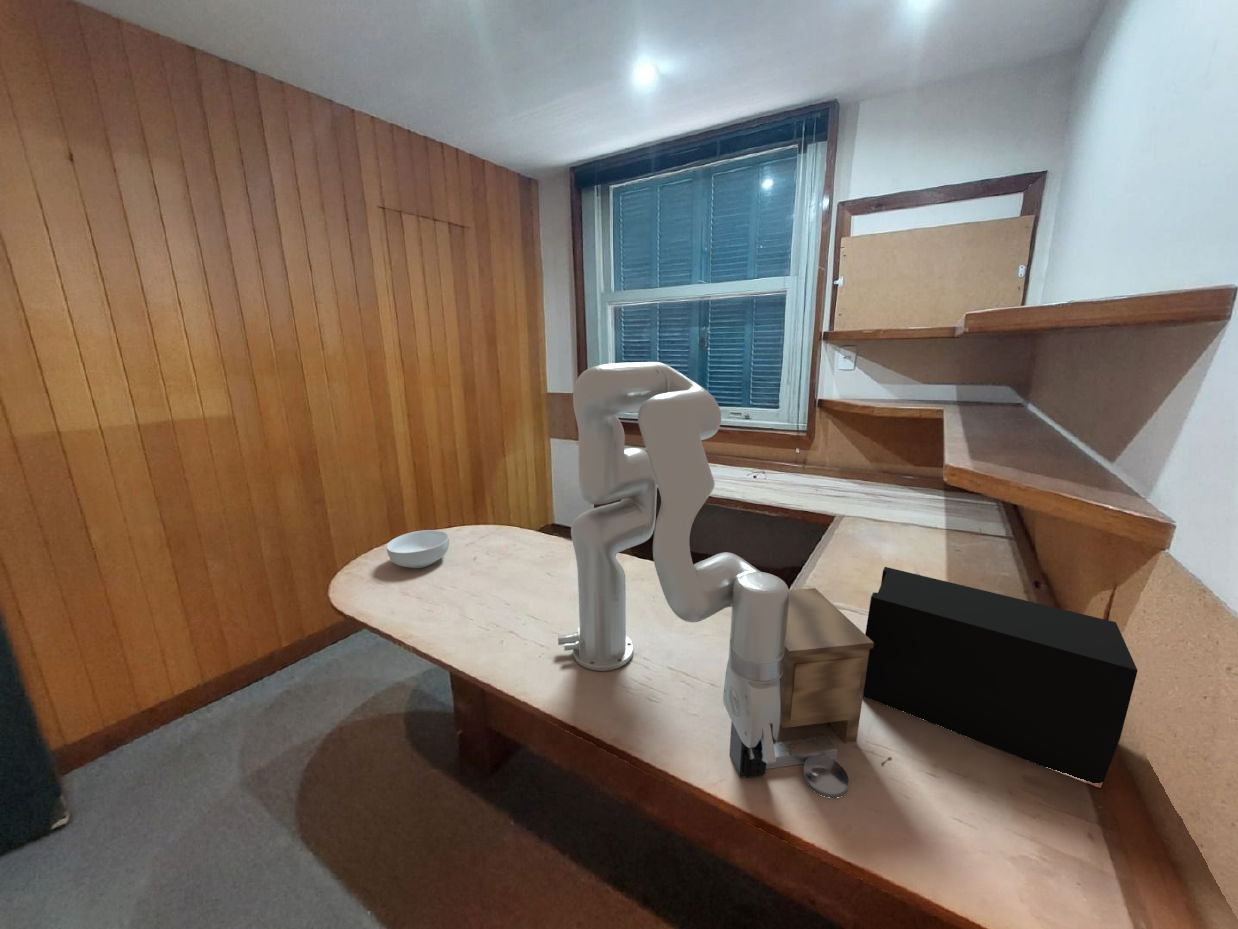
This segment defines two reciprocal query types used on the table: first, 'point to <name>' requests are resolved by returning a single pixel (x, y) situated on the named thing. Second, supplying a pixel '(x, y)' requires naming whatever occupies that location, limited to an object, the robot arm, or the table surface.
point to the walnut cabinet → (822, 666)
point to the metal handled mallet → (783, 751)
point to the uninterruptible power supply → (1001, 671)
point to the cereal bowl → (418, 548)
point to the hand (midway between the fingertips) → (747, 760)
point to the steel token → (825, 776)
